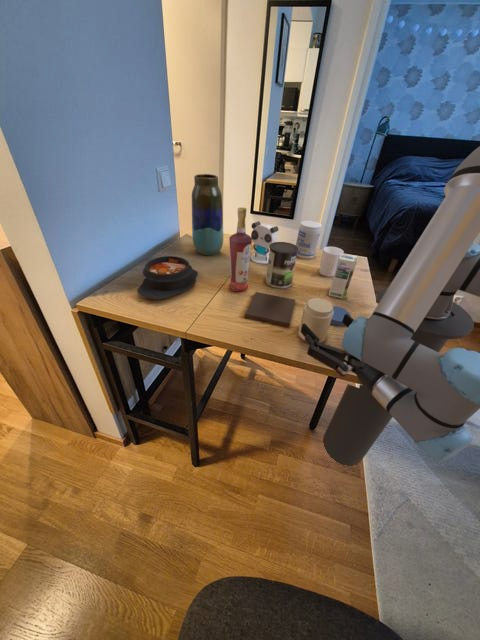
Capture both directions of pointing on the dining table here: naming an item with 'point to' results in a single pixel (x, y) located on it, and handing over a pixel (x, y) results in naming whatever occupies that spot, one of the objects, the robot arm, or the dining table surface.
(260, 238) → the panda figurine
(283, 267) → the coffee can
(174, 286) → the casserole
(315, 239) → the supplement tub
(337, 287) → the syrup box
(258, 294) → the serving board
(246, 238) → the liquor
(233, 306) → the dining table surface
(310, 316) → the jar
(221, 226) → the vase
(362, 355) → the robot arm
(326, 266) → the white cup
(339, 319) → the jar lid
